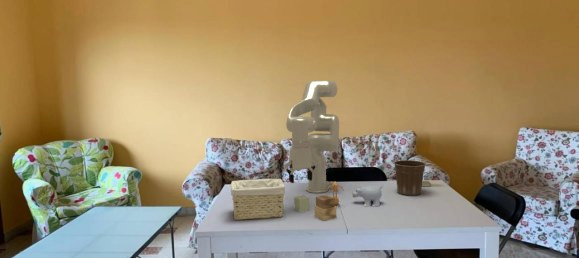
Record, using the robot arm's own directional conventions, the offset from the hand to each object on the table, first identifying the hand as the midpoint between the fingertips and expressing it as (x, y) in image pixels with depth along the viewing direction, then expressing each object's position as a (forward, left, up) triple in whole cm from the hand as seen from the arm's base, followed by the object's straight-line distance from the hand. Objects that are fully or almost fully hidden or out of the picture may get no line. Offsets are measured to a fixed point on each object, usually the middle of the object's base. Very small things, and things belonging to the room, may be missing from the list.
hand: (300, 181), depth 181 cm
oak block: (-4, +14, -14) cm, 20 cm away
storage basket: (+20, -6, -14) cm, 25 cm away
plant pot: (-62, +7, -14) cm, 64 cm away
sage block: (0, 0, -14) cm, 14 cm away
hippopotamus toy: (-33, +8, -14) cm, 37 cm away
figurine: (-17, +3, -14) cm, 23 cm away
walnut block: (-4, +14, -9) cm, 17 cm away
